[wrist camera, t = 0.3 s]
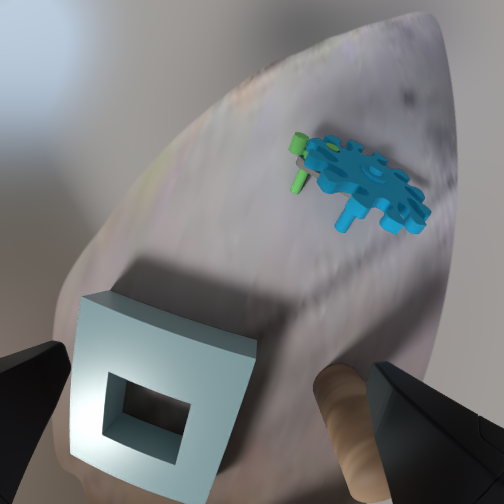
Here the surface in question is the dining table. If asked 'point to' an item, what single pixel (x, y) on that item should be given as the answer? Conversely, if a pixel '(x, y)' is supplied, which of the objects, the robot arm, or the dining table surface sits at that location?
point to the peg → (351, 431)
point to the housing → (160, 380)
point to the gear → (360, 183)
